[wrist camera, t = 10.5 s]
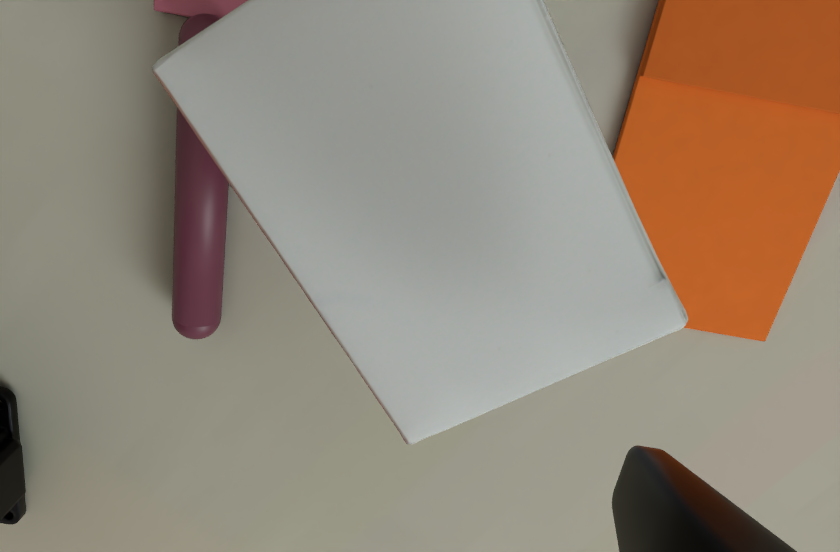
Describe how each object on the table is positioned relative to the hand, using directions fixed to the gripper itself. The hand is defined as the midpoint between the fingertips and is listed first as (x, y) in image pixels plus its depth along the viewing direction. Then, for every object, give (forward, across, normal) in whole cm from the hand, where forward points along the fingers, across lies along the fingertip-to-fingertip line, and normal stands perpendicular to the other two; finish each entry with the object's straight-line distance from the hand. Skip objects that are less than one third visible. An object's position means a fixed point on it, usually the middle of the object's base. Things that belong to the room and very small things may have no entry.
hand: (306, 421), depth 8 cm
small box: (+13, -1, -3) cm, 13 cm away
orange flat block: (+13, -11, -3) cm, 17 cm away
